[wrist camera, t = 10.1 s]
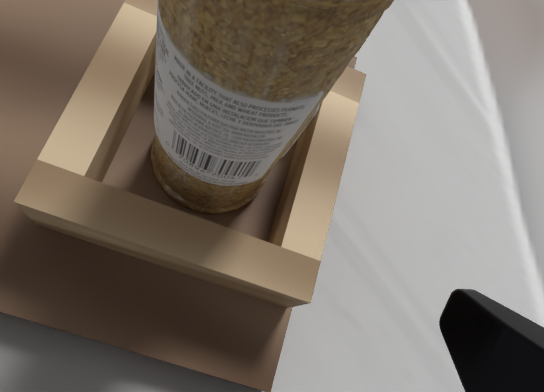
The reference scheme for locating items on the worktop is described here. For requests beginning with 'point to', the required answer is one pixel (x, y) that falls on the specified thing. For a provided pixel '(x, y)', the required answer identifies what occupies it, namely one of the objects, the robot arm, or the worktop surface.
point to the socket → (146, 201)
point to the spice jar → (243, 88)
